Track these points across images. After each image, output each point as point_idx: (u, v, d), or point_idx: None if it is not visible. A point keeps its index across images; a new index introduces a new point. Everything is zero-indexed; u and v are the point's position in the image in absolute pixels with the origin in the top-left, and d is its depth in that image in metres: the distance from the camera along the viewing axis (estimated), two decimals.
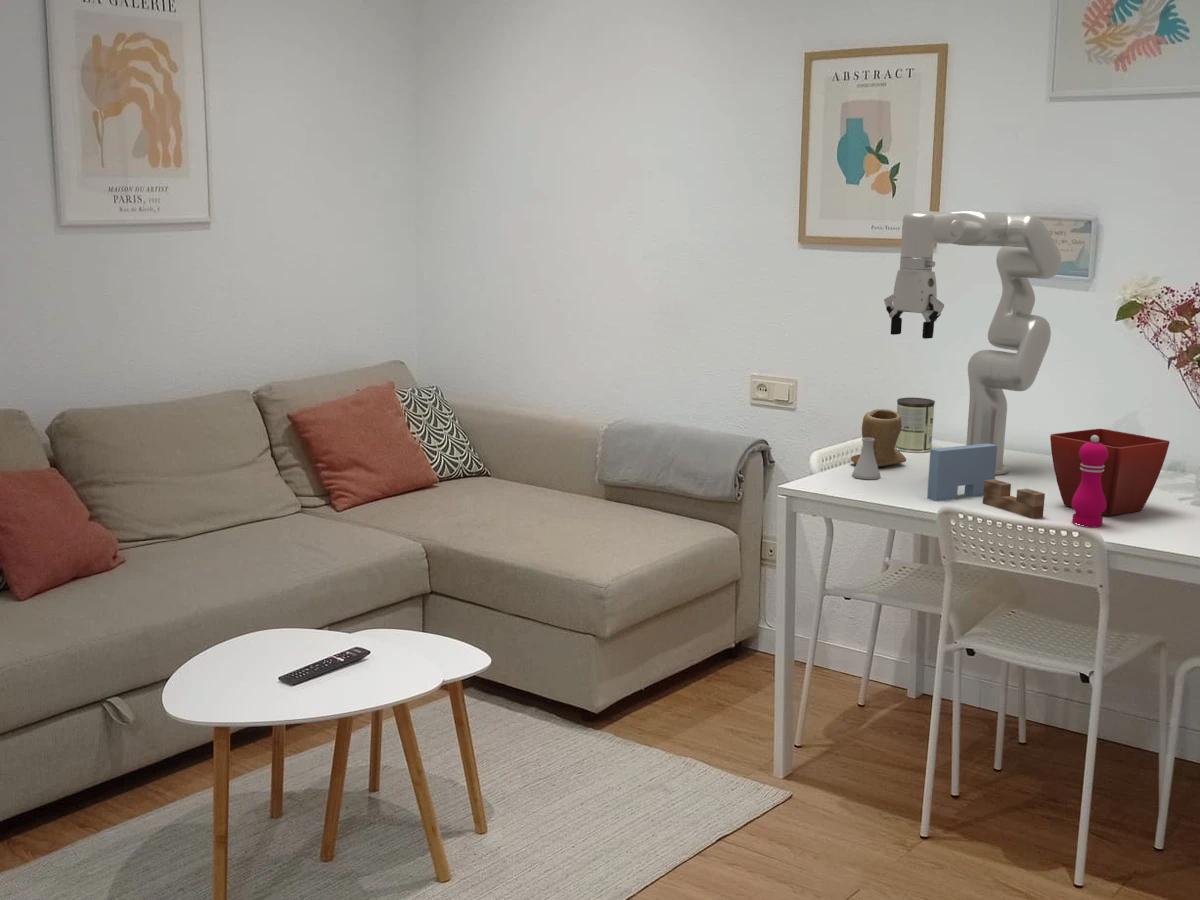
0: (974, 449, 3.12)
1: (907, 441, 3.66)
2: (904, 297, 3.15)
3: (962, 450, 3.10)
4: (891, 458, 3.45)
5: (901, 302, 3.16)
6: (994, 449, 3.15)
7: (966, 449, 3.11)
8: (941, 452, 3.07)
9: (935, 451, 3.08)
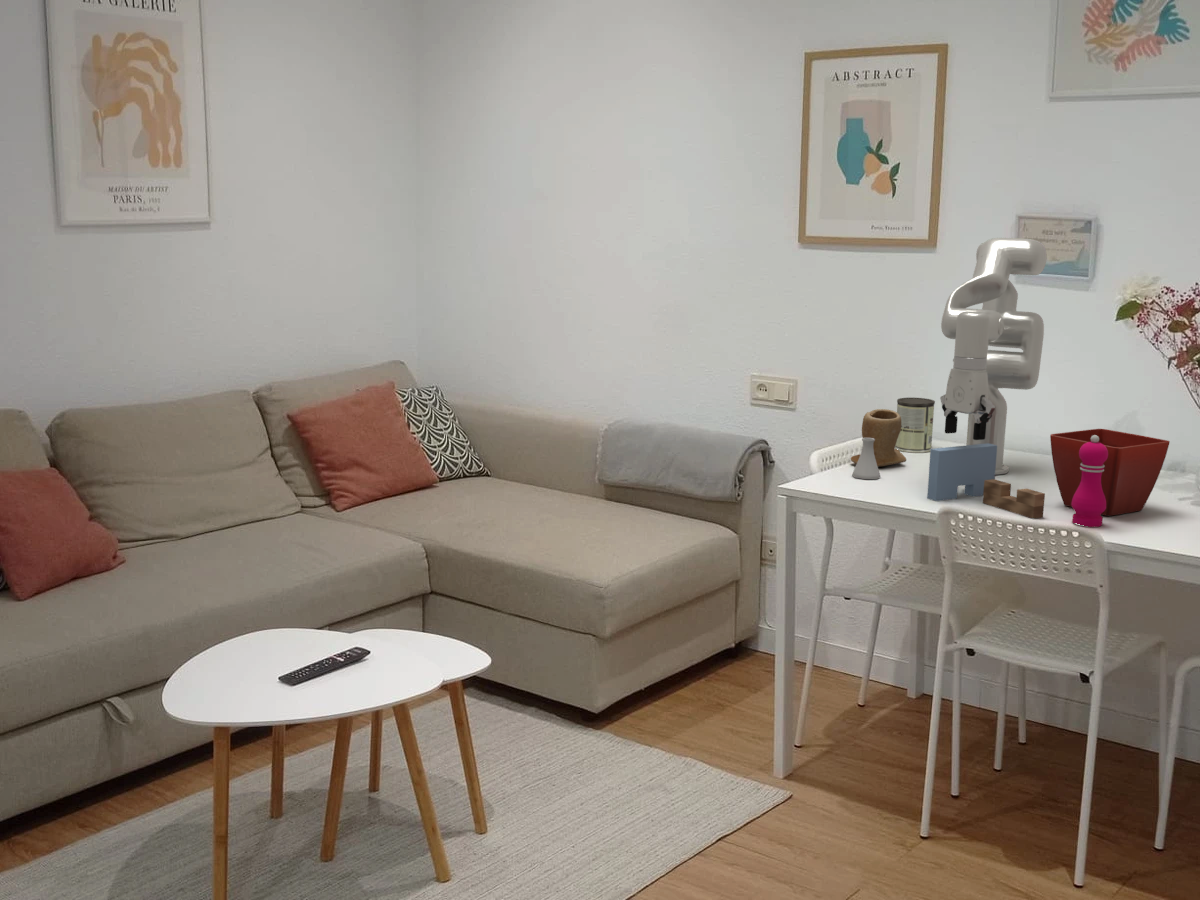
0: (974, 449, 3.12)
1: (907, 441, 3.66)
2: None
3: (962, 450, 3.10)
4: (891, 458, 3.45)
5: None
6: (994, 449, 3.15)
7: (966, 449, 3.11)
8: (941, 452, 3.07)
9: (935, 451, 3.08)
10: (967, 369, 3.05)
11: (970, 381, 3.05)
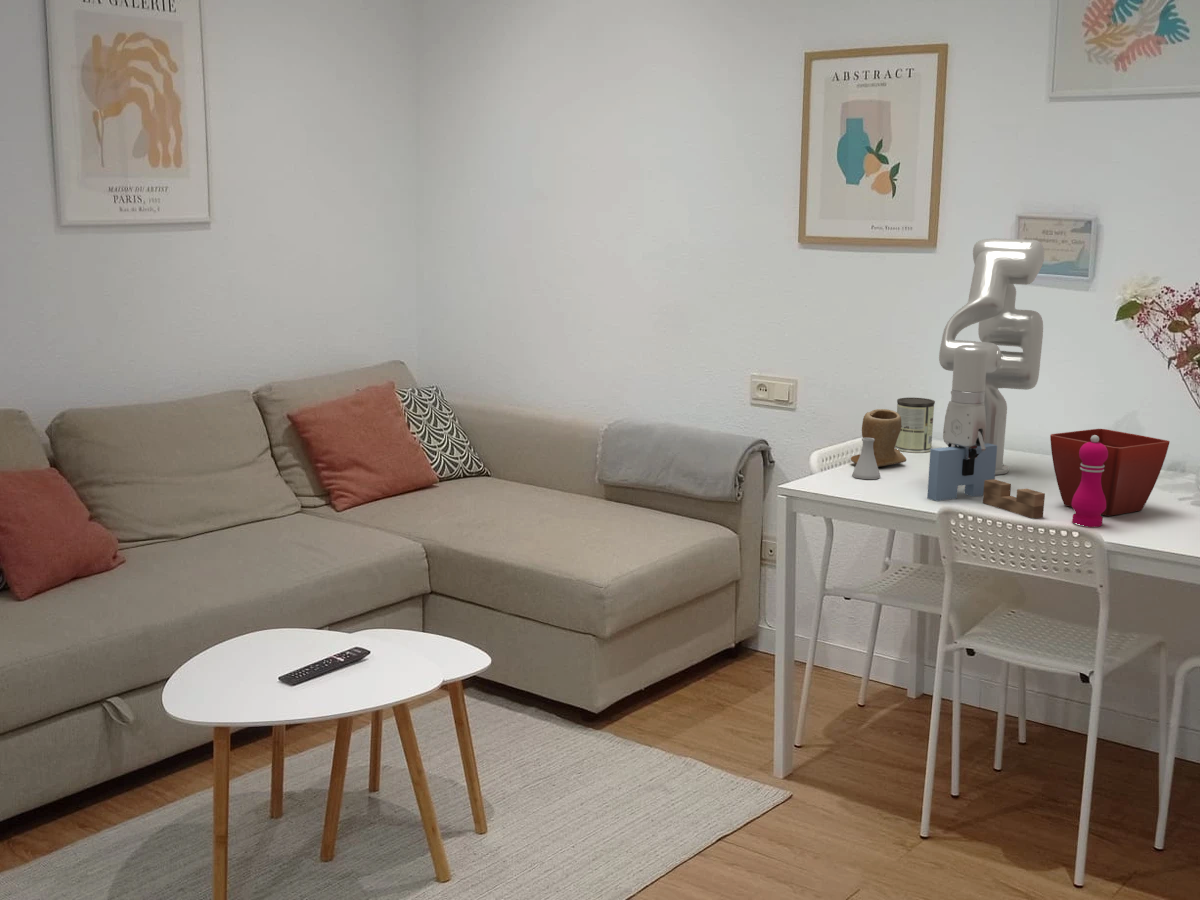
0: None
1: (907, 441, 3.66)
2: None
3: (962, 450, 3.10)
4: (891, 458, 3.45)
5: None
6: (994, 449, 3.15)
7: None
8: (941, 452, 3.07)
9: (935, 451, 3.08)
10: (965, 403, 3.07)
11: (968, 415, 3.07)
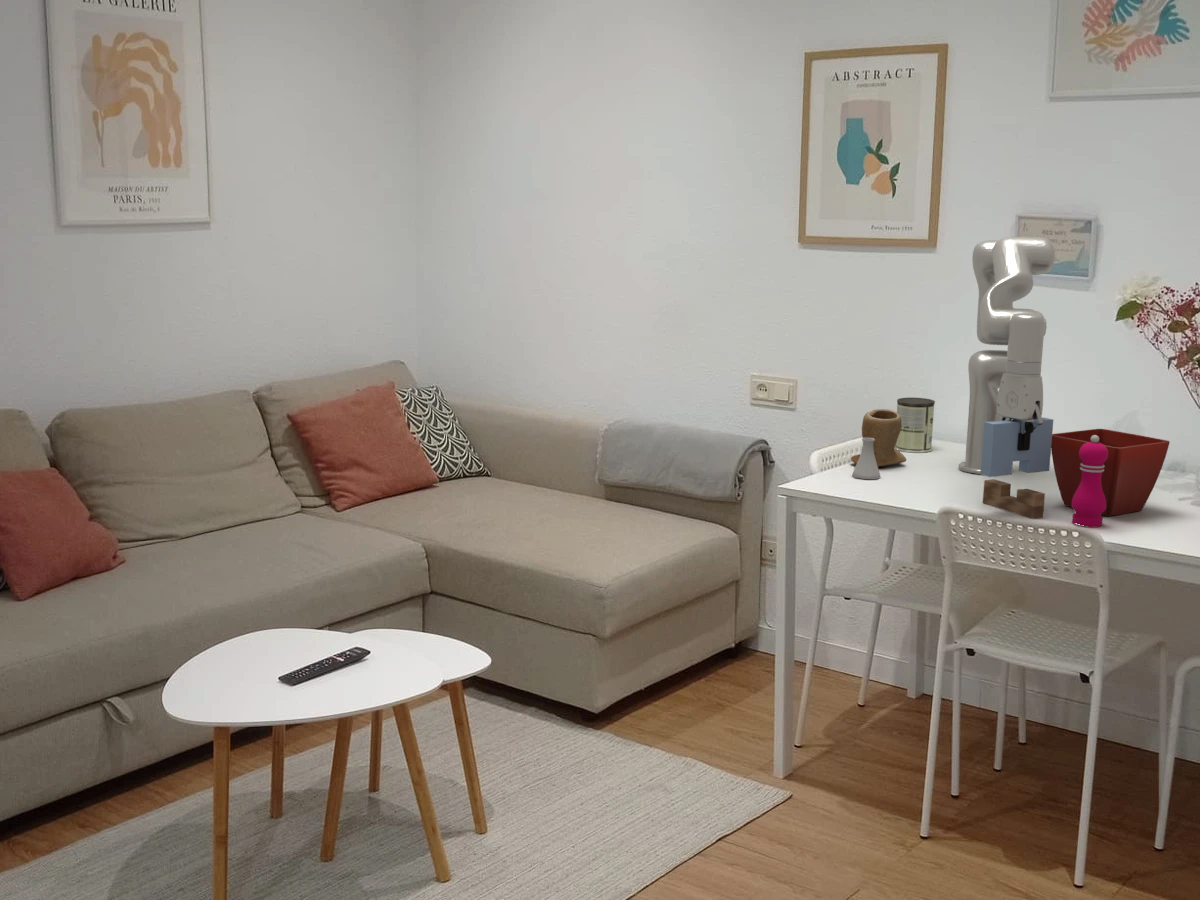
0: None
1: (907, 441, 3.66)
2: None
3: (1017, 423, 2.95)
4: (891, 458, 3.45)
5: None
6: (1050, 423, 3.00)
7: None
8: (996, 425, 2.92)
9: (989, 424, 2.93)
10: (1021, 374, 2.92)
11: (1024, 386, 2.92)
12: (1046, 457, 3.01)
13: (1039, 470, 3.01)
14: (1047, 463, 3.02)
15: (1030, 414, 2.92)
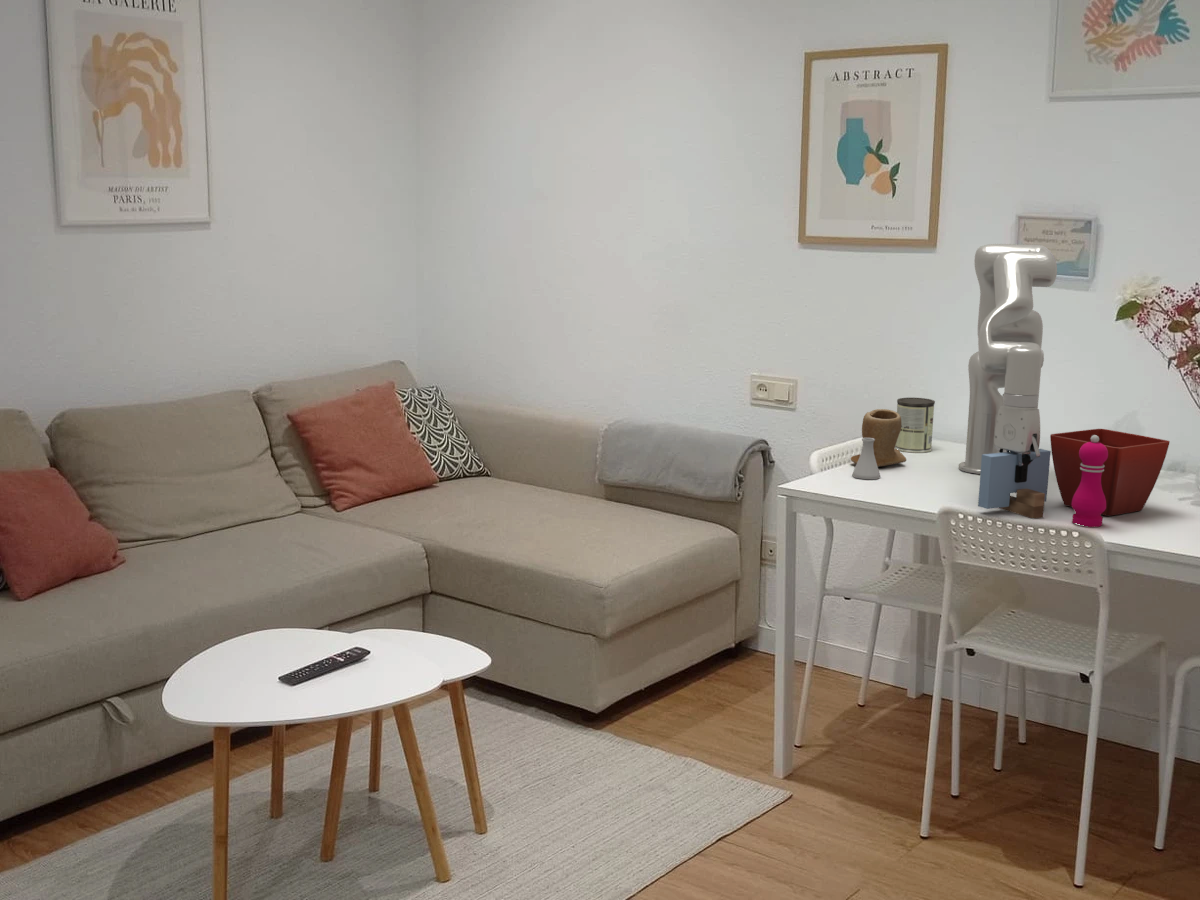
0: None
1: (907, 441, 3.66)
2: None
3: (1015, 456, 2.97)
4: (891, 458, 3.45)
5: None
6: (1047, 455, 3.01)
7: None
8: (993, 458, 2.94)
9: (987, 457, 2.95)
10: (1018, 407, 2.94)
11: (1021, 419, 2.93)
12: (1043, 488, 3.03)
13: None
14: None
15: (1027, 447, 2.93)
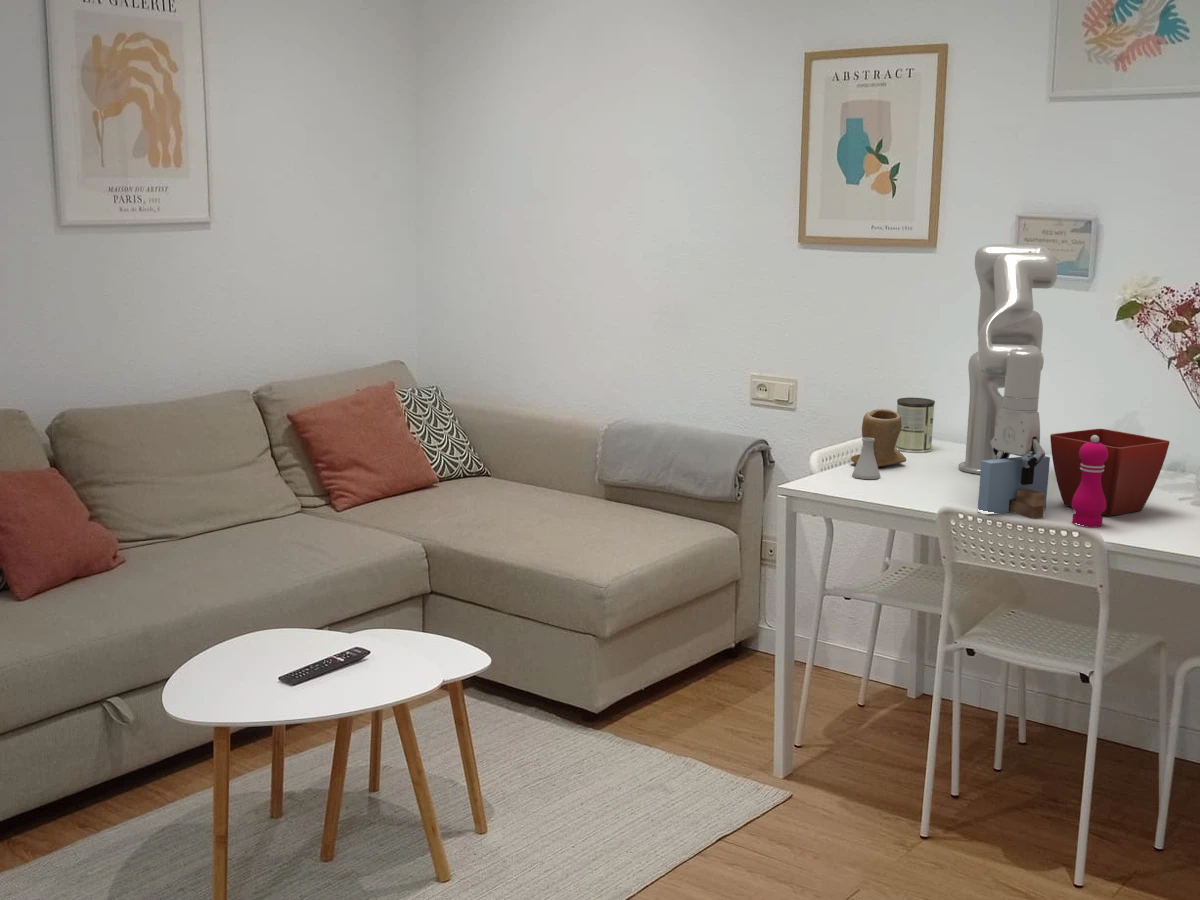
0: None
1: (907, 441, 3.66)
2: None
3: (1014, 462, 2.97)
4: (891, 458, 3.45)
5: None
6: (1046, 461, 3.02)
7: (1018, 461, 2.98)
8: (993, 464, 2.94)
9: (986, 463, 2.95)
10: (1018, 410, 2.94)
11: (1021, 422, 2.94)
12: None
13: None
14: None
15: (1027, 450, 2.94)
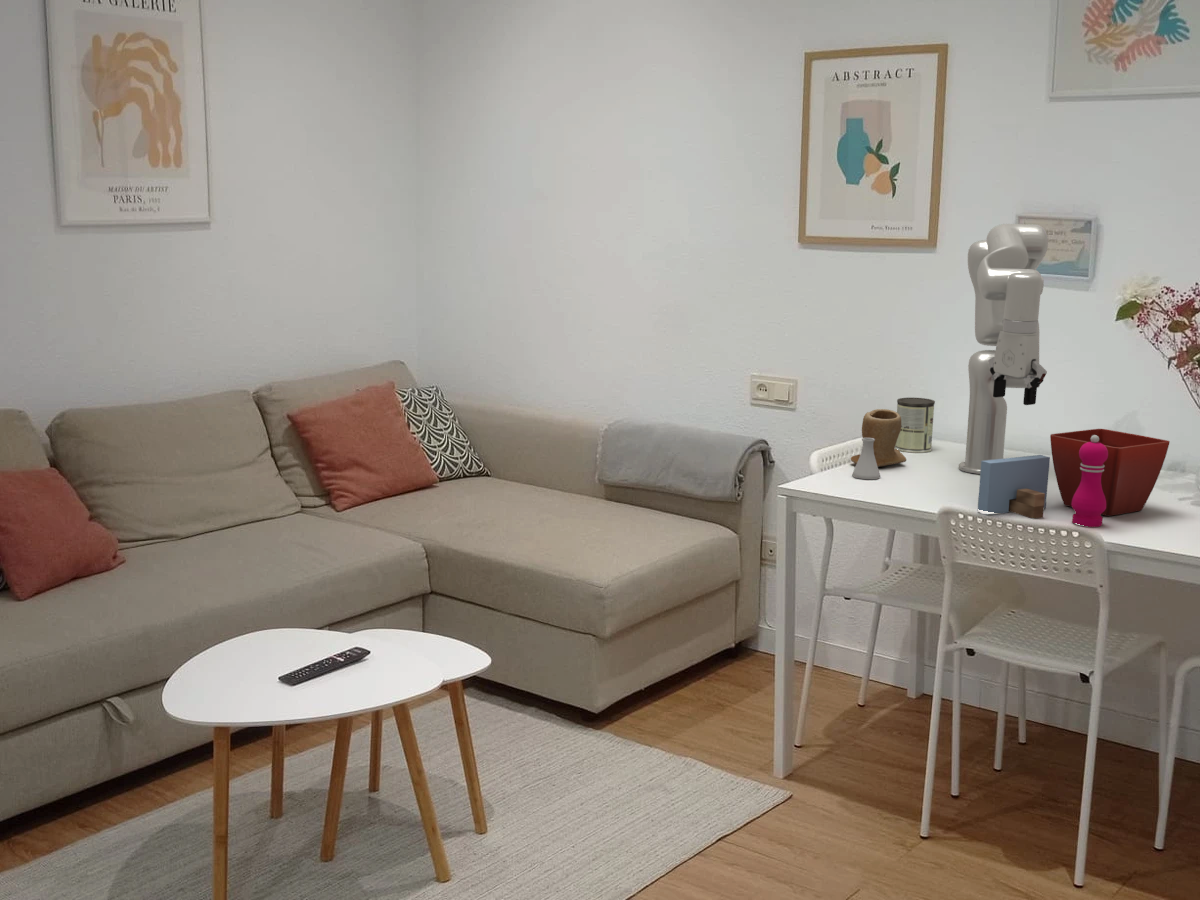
0: (1027, 461, 2.99)
1: (907, 441, 3.66)
2: None
3: (1014, 462, 2.97)
4: (891, 458, 3.45)
5: None
6: (1046, 461, 3.02)
7: (1018, 461, 2.98)
8: (993, 464, 2.94)
9: (986, 463, 2.95)
10: (1017, 333, 2.97)
11: (1021, 345, 2.97)
12: None
13: None
14: None
15: (1026, 372, 2.97)
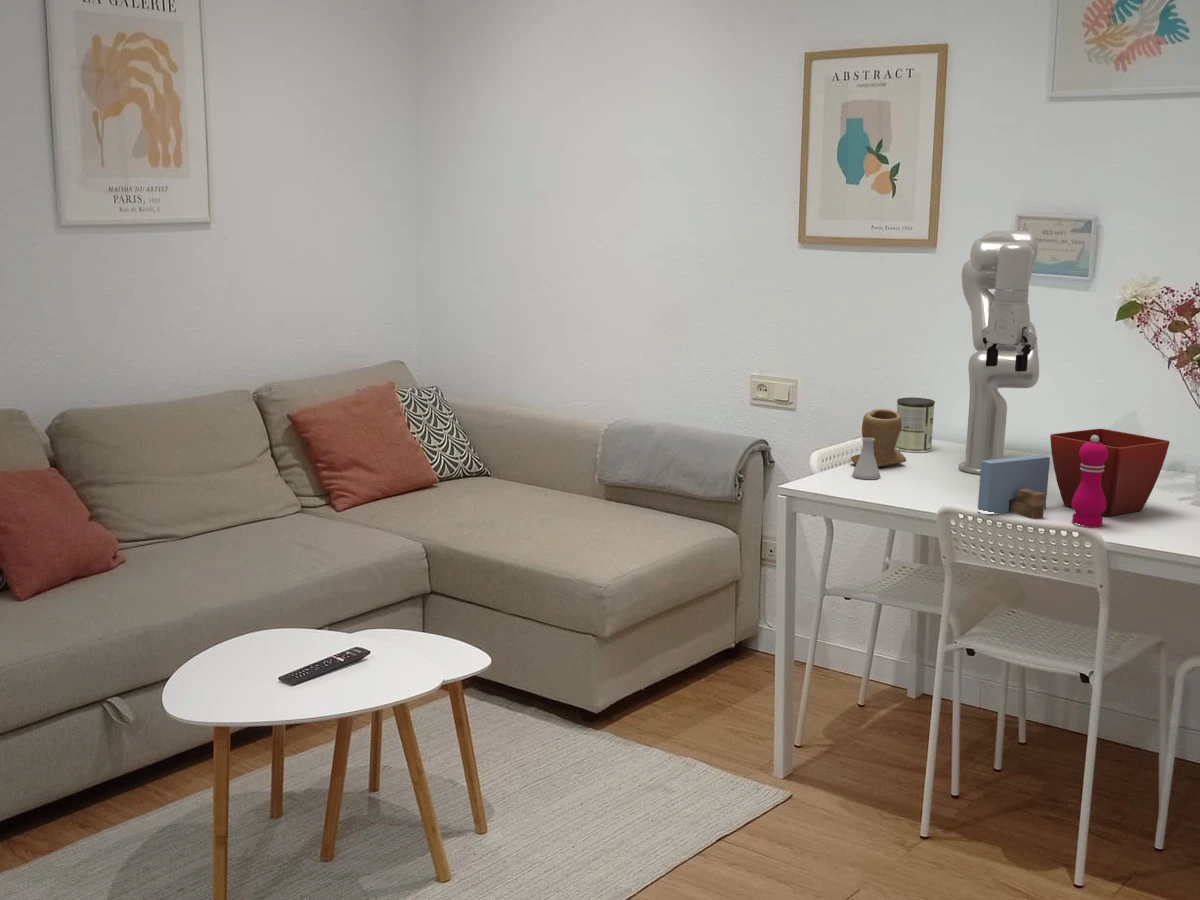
0: (1027, 461, 2.99)
1: (907, 441, 3.66)
2: None
3: (1014, 462, 2.97)
4: (891, 458, 3.45)
5: None
6: (1046, 461, 3.02)
7: (1018, 461, 2.98)
8: (993, 464, 2.94)
9: (986, 463, 2.95)
10: (1009, 301, 3.07)
11: (1012, 313, 3.07)
12: None
13: None
14: None
15: (1017, 339, 3.07)
